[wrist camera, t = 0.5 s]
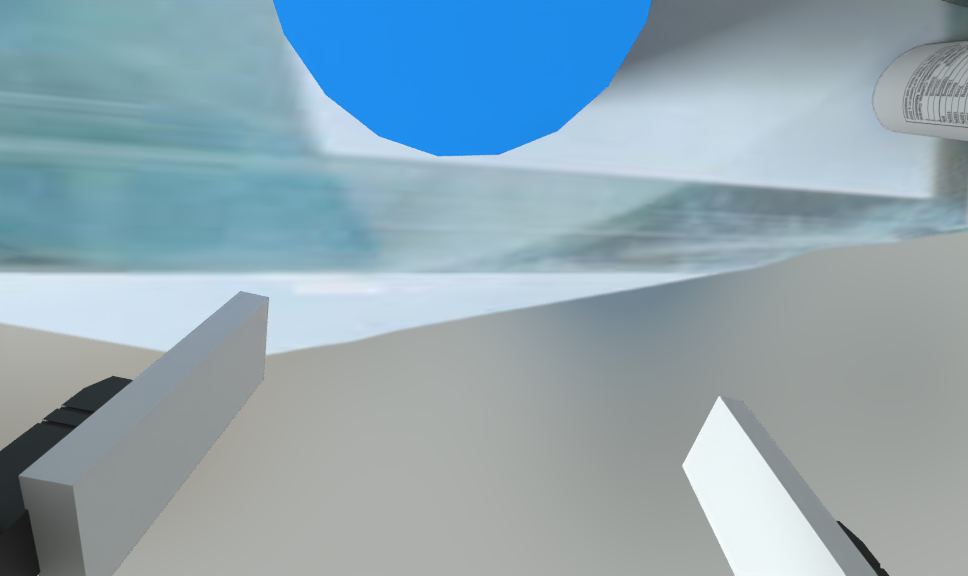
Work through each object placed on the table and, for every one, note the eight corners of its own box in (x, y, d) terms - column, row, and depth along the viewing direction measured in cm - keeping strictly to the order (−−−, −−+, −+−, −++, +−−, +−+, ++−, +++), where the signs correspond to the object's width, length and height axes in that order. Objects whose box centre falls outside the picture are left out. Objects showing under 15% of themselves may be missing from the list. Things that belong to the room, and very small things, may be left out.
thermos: (587, 22, 35) (767, -94, 12) (494, 142, 38) (494, 234, 15) (468, -91, 32) (404, -519, 9) (380, 48, 36) (175, -13, 13)
